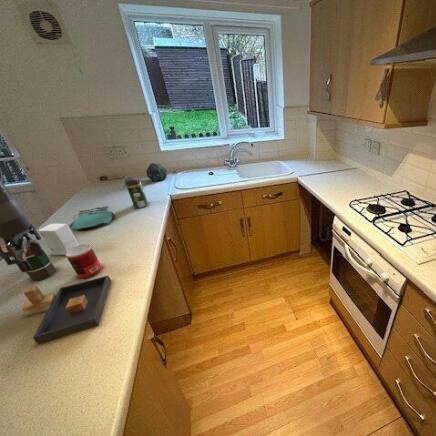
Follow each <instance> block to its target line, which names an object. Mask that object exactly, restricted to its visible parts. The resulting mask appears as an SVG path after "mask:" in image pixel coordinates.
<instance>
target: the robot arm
mask: <svg viewBox="0 0 436 436" xmlns="http://www.w3.org/2000/svg"><path fill="white" fill-rule="evenodd" d="M0 239H2V240H3V243H4V244H3V245H2V244H1V245H0V255H1V257H2V258H3V260H4V262H5V263H6V264H7V266H12V265H16V266H17V267H18V269H19V270H20V272H21V273H27V272H29V271H31V270H32V269H33V268H32V267H31V265H30V264H29V262H28V261H27V259H26V256H25V253H26V252H27V245H28V246H30V247H29V248H30V249H31V251H32V252H33V254H34V255H35V256H41V255H43V254H44V252H45V250H44V249H43V250H44V251H43V250H42V248H43V247H42V246H41V242H40V240H42V236H41V235H40V233H39V232H38V230H37V229H36V227H35V225H33V223H30V221H29V220H28V218H27V217H26V215H25V213H24V211H23V210H22V208H21V206H20V204H19V203H18V202H17V201H16V200H15V199H14V197H13V196H12V195H11V193H10V191H9V189H8V188H7V186H6V184H5V183H4V176H3V173H2V169H1V167H0ZM39 244H40V245H39ZM41 247H42V248H41ZM20 249H21V250H20ZM16 250H20V251H16ZM18 254H20V257H21V258H20V257H19V255H18Z"/></svg>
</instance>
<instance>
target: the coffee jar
mask: <svg viewBox="0 0 436 436" xmlns="http://www.w3.org/2000/svg"><path fill="white" fill-rule="evenodd" d="M124 184H125V185H124V186H125V187H126V190H127V192H128V194H129V197H130V199H131V202H132V205H133V207H134V208H135V209H141V208H145V207H147V206H148V204H149V202H148V199H147V197H146V194H145V191H144V188H143V184H142V182H141V180H140V177H138V176H136V175H133V176H128V177H126V178H125V180H124Z"/></svg>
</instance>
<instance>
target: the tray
mask: <svg viewBox="0 0 436 436" xmlns="http://www.w3.org/2000/svg"><path fill="white" fill-rule="evenodd" d="M111 284H112V279H111V278H110V275H104V276H100V277H97V278H92V279H89V280H85V281H82V282H77V283H73V284H70V285H66V286H62V287H60V288H59V290H58V291H57V293H56V294H55V295H56V296H55V298H54V300H53V302H52V304H51V306H50V307H49V309H48V310H47V311H46V313H45V315H44V317H43V318H42V320H41V322H40V324H39V326H38V327H37V329H36V331H35V332H34V335H33V336H32V340H34V341H35V343H36V344H37V345H42V344H44V343H47V342H51V341H54V340H57V339H60V338H63V337H67V336H70V335H73V334H76V333H79V332H82V331H85V330H88V329H92V328H94V327H97V326H99V324H100V322H101V318H102V314H103V311H104V307H105V304H106V302H107V298H108V294H109V290H110V287H111ZM83 295H84V296H85V297H86V299H87V300H88V303H87V305H86V308H85V310H82V311H78V312H75V313H72V314H70V313H69V312H68V310H67V309H66V306H67V304H68V302H69V300H70V299H72V298H75V297H79V296H83Z"/></svg>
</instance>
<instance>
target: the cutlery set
mask: <svg viewBox="0 0 436 436" xmlns="http://www.w3.org/2000/svg"><path fill="white" fill-rule="evenodd" d="M78 215H79V216H78V217H77V218H74V219H73V221H72V222H71V224H70V227H71V229H72V230H74V231H79V230H84V229H85V230H86V229H90V228H95V227H98V226H101V225H103V224H110V223H111V222H112V219H113V218H114V217H115V213H114V212H113V211H110V210H109V205H104V206H103V205H102V206H97V207H95V208H90V209H83V210H79V213H78Z"/></svg>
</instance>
